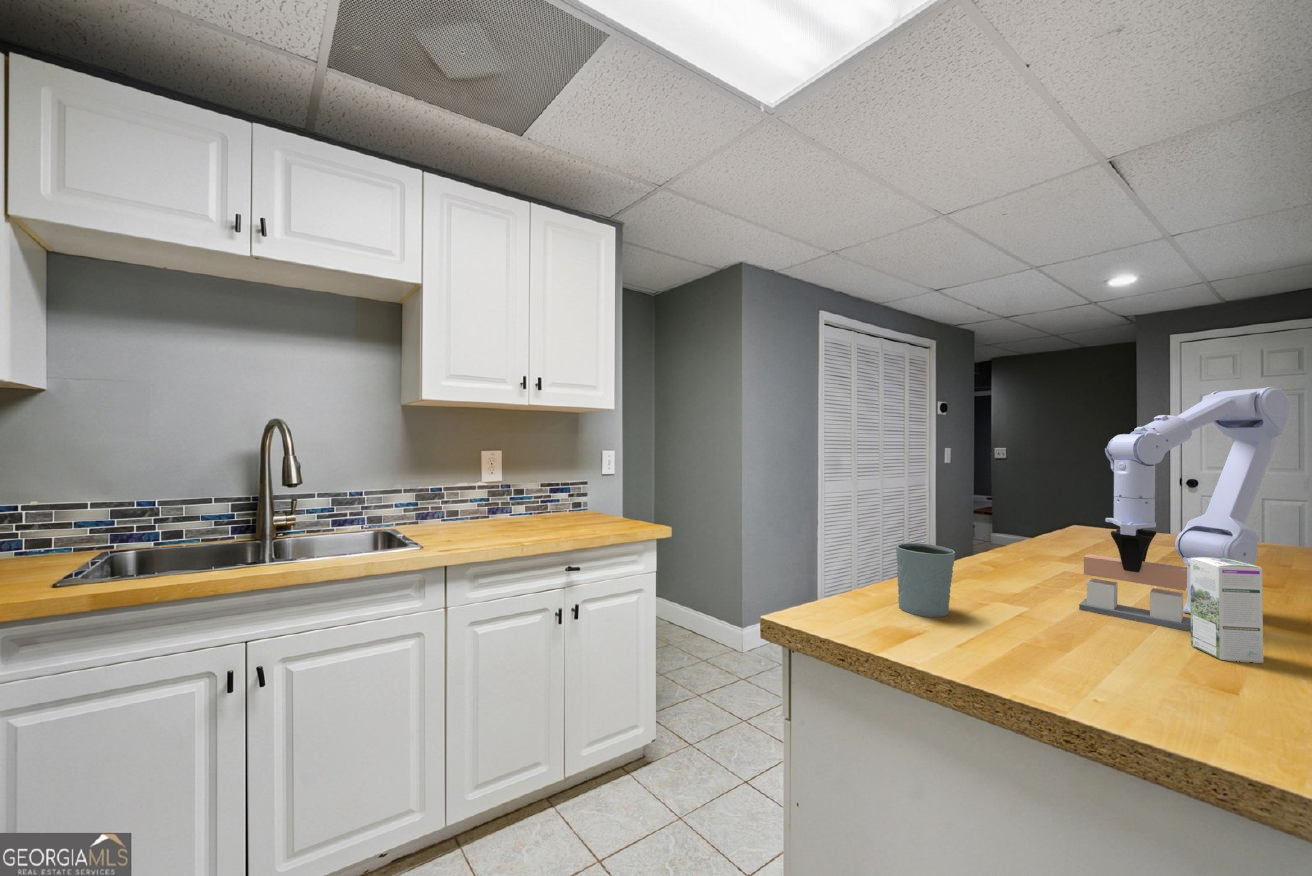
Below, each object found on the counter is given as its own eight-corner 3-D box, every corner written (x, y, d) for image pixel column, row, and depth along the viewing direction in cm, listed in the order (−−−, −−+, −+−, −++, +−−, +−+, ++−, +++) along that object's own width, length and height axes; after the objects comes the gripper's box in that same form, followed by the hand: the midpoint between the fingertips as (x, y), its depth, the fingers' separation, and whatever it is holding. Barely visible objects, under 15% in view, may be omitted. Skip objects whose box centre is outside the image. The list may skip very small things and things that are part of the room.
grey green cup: (889, 600, 106) (889, 541, 106) (941, 603, 105) (942, 543, 105) (905, 617, 96) (906, 552, 96) (964, 620, 95) (964, 554, 95)
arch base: (1085, 603, 106) (1085, 576, 106) (1191, 623, 94) (1191, 593, 95) (1079, 609, 102) (1079, 581, 102) (1188, 631, 91) (1188, 599, 91)
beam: (1087, 571, 105) (1088, 553, 105) (1186, 586, 94) (1187, 567, 94) (1083, 574, 102) (1083, 556, 102) (1185, 590, 92) (1185, 570, 92)
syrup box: (1265, 664, 77) (1266, 566, 77) (1218, 660, 78) (1218, 564, 78) (1231, 649, 83) (1232, 558, 83) (1187, 645, 84) (1188, 556, 84)
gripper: (1112, 493, 106) (1112, 559, 106) (1099, 497, 96) (1098, 571, 96) (1160, 496, 101) (1160, 566, 101) (1151, 501, 91) (1150, 579, 91)
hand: (1133, 569), depth 98 cm, fingers closed on beam, 4 cm apart
